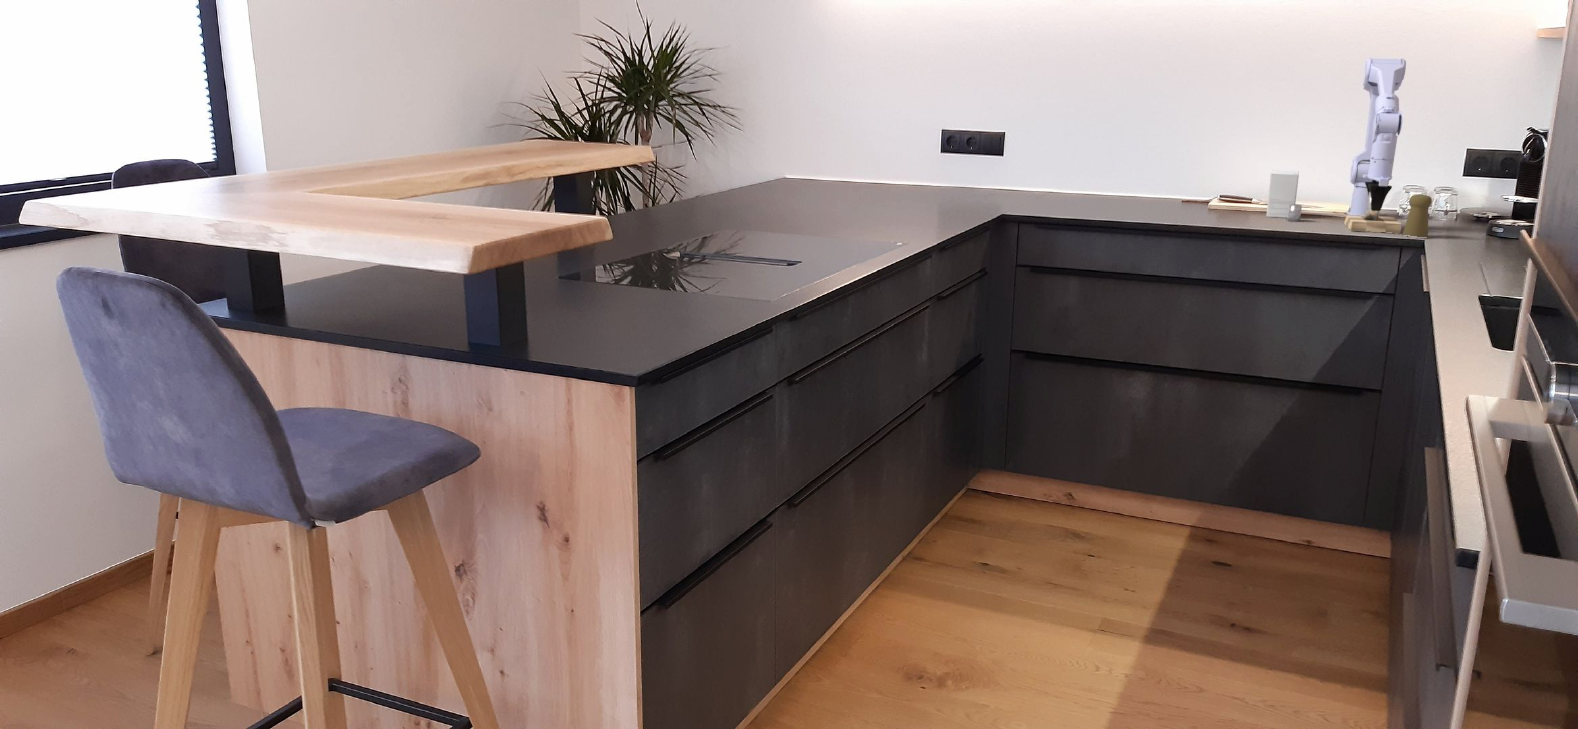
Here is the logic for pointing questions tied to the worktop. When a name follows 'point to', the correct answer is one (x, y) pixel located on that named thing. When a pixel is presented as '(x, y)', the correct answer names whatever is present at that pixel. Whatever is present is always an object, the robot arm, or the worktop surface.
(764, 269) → the worktop surface
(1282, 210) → the supplement box
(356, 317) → the worktop surface
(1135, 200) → the worktop surface
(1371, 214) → the long pin
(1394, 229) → the oak frame
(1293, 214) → the short pin
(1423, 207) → the cork
